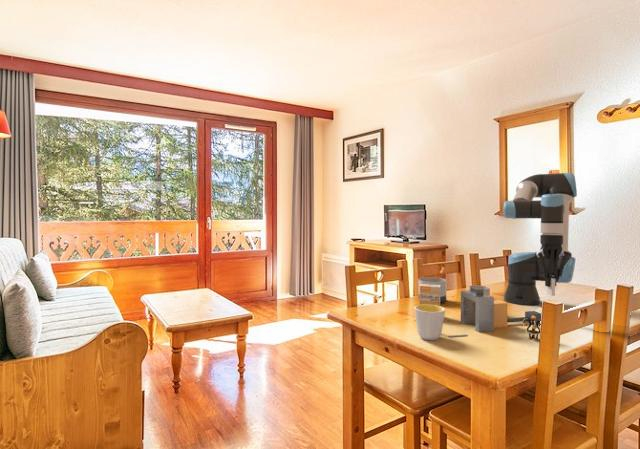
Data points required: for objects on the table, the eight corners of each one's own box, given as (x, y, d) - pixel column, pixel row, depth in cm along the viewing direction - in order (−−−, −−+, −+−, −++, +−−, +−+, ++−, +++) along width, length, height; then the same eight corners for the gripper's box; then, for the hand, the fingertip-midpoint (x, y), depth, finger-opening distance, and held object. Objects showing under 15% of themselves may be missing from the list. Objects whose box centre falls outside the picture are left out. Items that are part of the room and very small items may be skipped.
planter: (452, 301, 181) (452, 280, 181) (434, 306, 174) (434, 283, 174) (430, 296, 192) (430, 276, 192) (412, 300, 185) (412, 279, 184)
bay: (442, 321, 151) (442, 320, 151) (467, 335, 133) (467, 335, 133) (426, 322, 149) (425, 321, 149) (449, 337, 132) (449, 336, 132)
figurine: (520, 336, 131) (523, 314, 130) (530, 335, 133) (533, 312, 132) (533, 342, 127) (535, 319, 126) (543, 340, 128) (545, 317, 128)
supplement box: (418, 317, 156) (418, 285, 156) (420, 314, 161) (420, 283, 160) (439, 319, 153) (440, 286, 153) (440, 315, 158) (440, 284, 157)
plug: (533, 320, 150) (533, 298, 150) (542, 324, 145) (542, 301, 145) (484, 323, 147) (484, 300, 146) (492, 327, 142) (492, 303, 141)
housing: (474, 321, 150) (475, 284, 149) (493, 331, 138) (494, 291, 137) (460, 322, 149) (460, 285, 148) (478, 332, 137) (478, 292, 136)
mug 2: (485, 316, 156) (486, 290, 156) (464, 313, 162) (465, 287, 161) (494, 310, 165) (495, 285, 165) (474, 307, 171) (474, 283, 170)
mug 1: (442, 344, 125) (442, 313, 124) (410, 340, 129) (411, 309, 129) (448, 332, 137) (449, 303, 136) (420, 328, 141) (420, 300, 141)
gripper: (558, 233, 152) (557, 292, 153) (529, 233, 150) (528, 293, 151) (574, 234, 145) (573, 296, 145) (544, 234, 142) (543, 297, 143)
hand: (550, 294), depth 148 cm, fingers closed
